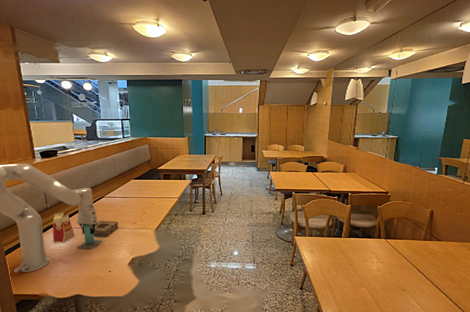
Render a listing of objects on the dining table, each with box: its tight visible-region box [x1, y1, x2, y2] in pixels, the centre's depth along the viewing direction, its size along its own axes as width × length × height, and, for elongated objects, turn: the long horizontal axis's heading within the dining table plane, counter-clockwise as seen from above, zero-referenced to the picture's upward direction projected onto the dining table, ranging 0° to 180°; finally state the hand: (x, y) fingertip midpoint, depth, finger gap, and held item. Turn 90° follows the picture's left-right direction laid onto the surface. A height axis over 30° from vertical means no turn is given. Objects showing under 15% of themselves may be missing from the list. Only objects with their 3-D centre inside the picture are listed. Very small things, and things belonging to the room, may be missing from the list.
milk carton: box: [52, 212, 76, 244], centre depth 152 cm, size 9×9×20 cm
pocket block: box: [94, 220, 119, 238], centre depth 164 cm, size 14×14×5 cm
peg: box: [83, 224, 95, 244], centre depth 146 cm, size 5×5×12 cm
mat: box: [76, 239, 103, 250], centre depth 147 cm, size 10×10×1 cm
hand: (88, 232), depth 146 cm, fingers closed on peg, 5 cm apart
